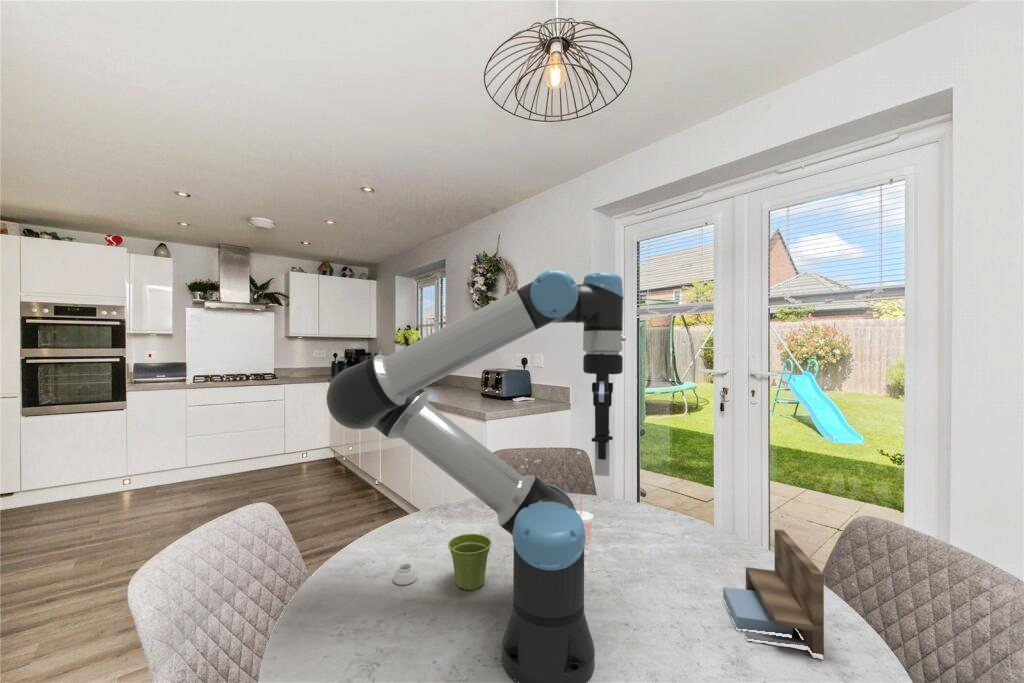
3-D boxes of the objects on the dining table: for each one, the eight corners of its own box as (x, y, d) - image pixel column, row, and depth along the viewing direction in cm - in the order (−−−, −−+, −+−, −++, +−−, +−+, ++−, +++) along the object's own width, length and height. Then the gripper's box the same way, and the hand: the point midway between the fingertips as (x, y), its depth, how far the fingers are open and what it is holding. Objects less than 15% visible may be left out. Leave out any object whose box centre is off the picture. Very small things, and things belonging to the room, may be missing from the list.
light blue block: (792, 641, 76) (792, 624, 76) (737, 633, 78) (737, 616, 78) (772, 608, 86) (772, 592, 86) (723, 601, 88) (723, 586, 88)
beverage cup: (598, 554, 106) (598, 497, 107) (576, 559, 104) (576, 500, 104) (584, 544, 112) (585, 490, 112) (564, 548, 110) (564, 492, 110)
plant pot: (450, 598, 87) (451, 555, 87) (445, 574, 96) (445, 535, 96) (495, 591, 90) (496, 549, 90) (486, 569, 99) (486, 531, 99)
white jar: (388, 585, 92) (410, 587, 91) (389, 571, 92) (410, 573, 91) (399, 573, 97) (420, 575, 96) (399, 560, 97) (420, 562, 96)
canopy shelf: (823, 660, 71) (823, 574, 71) (749, 648, 73) (750, 565, 74) (783, 598, 88) (783, 529, 88) (724, 590, 91) (724, 524, 91)
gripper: (622, 353, 77) (622, 486, 77) (622, 353, 90) (621, 467, 89) (580, 353, 79) (579, 483, 78) (585, 352, 91) (585, 464, 91)
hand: (602, 474), depth 84 cm, fingers closed
